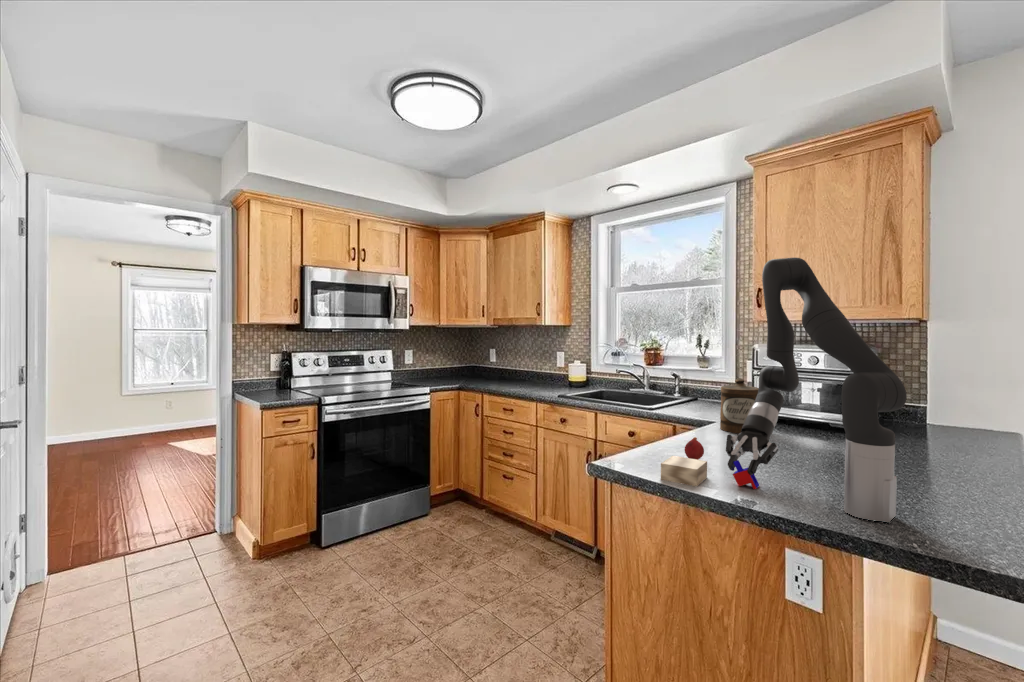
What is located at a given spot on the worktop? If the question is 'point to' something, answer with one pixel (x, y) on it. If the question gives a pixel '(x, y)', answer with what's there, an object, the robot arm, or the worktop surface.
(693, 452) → the onion
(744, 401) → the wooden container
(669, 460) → the maple block
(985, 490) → the worktop surface
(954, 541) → the worktop surface
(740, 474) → the toy building block
